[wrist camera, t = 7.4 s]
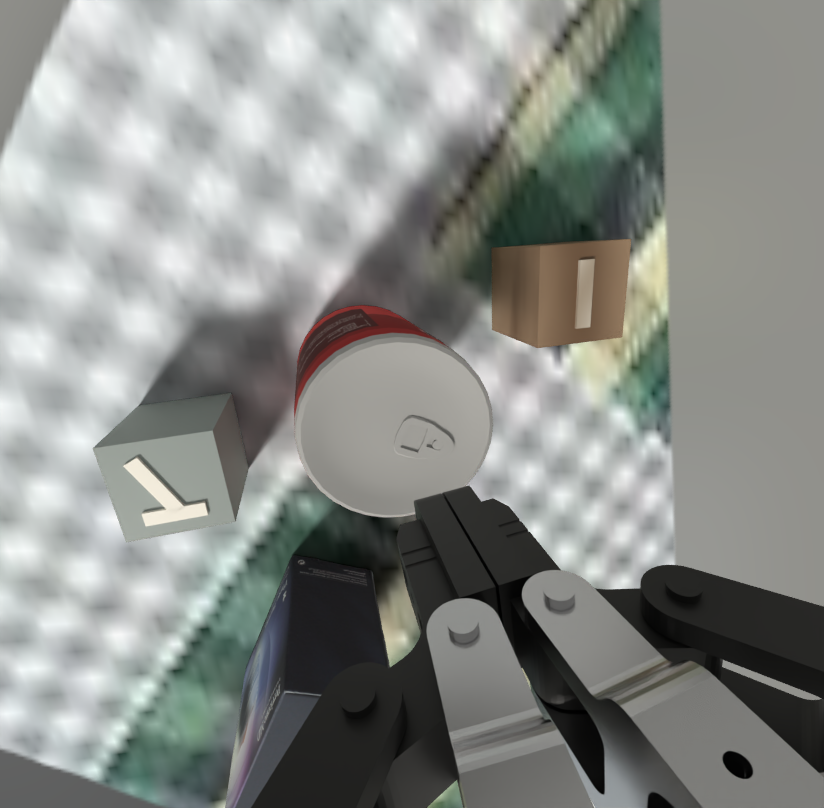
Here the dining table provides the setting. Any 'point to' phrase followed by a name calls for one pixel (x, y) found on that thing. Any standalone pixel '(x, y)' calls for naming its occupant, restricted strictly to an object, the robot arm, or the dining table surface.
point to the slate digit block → (175, 466)
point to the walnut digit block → (560, 291)
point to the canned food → (386, 412)
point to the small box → (300, 662)
